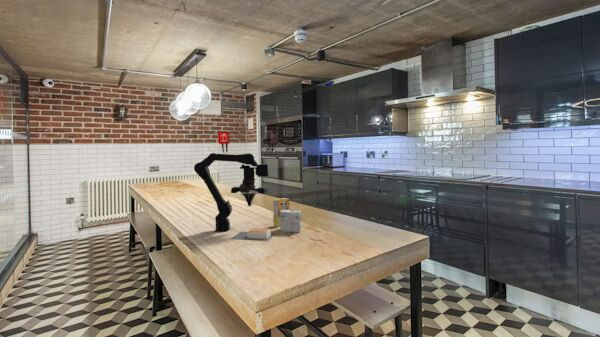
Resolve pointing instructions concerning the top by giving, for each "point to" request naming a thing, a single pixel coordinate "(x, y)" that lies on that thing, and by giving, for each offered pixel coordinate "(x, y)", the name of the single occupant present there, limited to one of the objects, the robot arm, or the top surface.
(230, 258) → the top surface
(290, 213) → the light bulb box
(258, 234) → the ivory tile
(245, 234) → the rubber mat
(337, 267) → the top surface
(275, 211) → the candy box
